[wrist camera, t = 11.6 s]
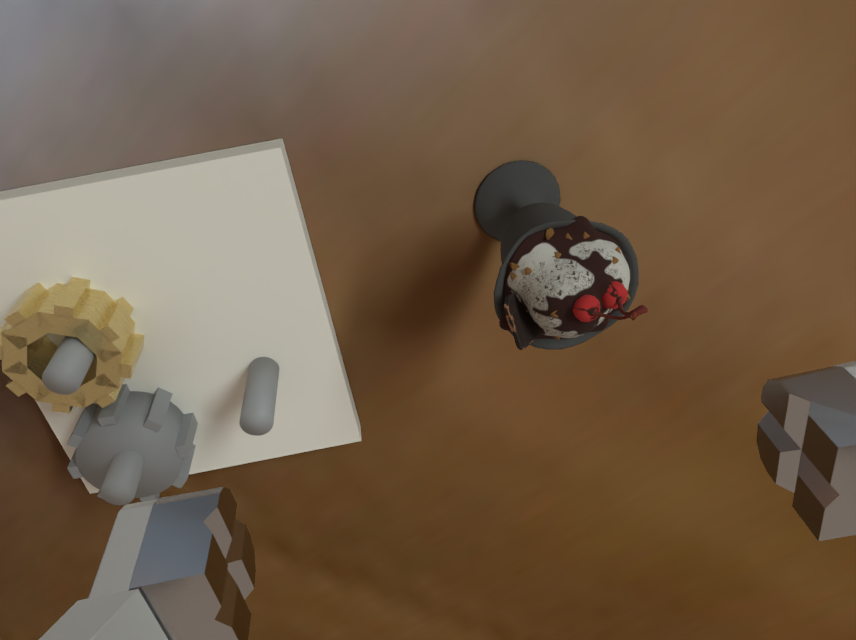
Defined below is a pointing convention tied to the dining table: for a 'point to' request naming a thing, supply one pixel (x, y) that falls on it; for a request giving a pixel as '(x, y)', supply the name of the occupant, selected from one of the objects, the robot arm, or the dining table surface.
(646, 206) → the dining table surface
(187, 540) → the robot arm
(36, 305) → the gear
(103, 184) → the gear board
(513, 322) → the sundae
